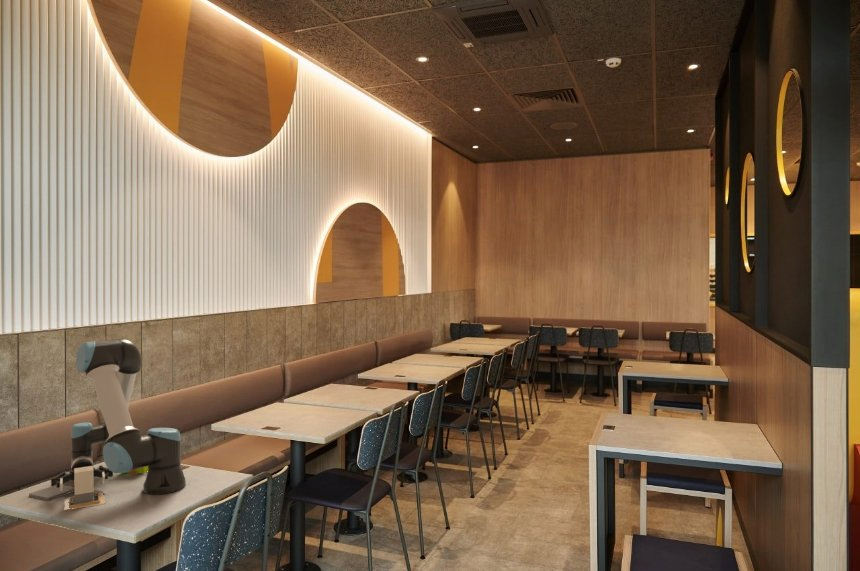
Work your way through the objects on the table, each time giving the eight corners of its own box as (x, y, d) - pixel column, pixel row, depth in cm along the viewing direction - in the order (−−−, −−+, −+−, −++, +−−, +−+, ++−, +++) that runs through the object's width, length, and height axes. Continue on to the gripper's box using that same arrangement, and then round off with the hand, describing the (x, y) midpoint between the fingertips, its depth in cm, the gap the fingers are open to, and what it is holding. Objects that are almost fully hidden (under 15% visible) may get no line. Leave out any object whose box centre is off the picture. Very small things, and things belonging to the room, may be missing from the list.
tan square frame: (103, 492, 224) (103, 490, 224) (104, 503, 213) (104, 500, 213) (64, 499, 218) (63, 496, 218) (63, 511, 207) (63, 508, 207)
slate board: (76, 490, 227) (76, 488, 227) (48, 500, 217) (48, 497, 217) (57, 486, 231) (57, 484, 231) (29, 496, 221) (28, 493, 221)
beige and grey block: (93, 497, 220) (92, 465, 219) (93, 502, 215) (93, 470, 214) (74, 500, 216) (74, 468, 216) (74, 506, 211) (74, 473, 211)
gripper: (117, 471, 241) (121, 487, 223) (45, 483, 228) (42, 500, 210) (117, 453, 241) (120, 467, 223) (44, 464, 228) (42, 479, 210)
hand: (82, 483), depth 216 cm, fingers open, 13 cm apart
